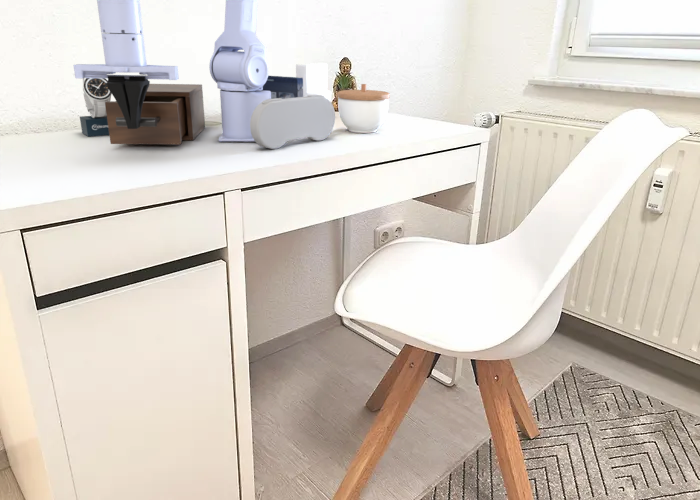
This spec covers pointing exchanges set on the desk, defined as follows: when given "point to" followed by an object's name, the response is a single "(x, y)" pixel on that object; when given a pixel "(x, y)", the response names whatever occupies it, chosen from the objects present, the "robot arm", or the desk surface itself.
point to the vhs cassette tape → (284, 87)
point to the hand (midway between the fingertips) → (134, 127)
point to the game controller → (292, 120)
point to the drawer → (150, 122)
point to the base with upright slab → (313, 79)
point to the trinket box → (363, 109)
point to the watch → (95, 107)
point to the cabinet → (193, 104)
